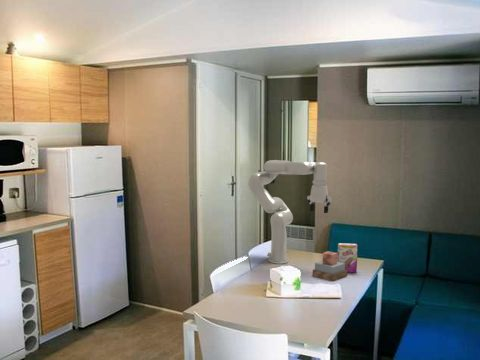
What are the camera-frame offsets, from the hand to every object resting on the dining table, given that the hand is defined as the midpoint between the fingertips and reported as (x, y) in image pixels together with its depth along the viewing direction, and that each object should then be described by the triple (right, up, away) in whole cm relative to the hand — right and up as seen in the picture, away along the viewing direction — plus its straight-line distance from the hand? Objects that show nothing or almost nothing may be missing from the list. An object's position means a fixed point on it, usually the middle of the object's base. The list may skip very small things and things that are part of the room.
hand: (319, 211), depth 280 cm
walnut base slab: (+4, -36, -12) cm, 39 cm away
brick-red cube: (+4, -28, -14) cm, 32 cm away
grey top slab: (+4, -32, -13) cm, 35 cm away
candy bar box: (+16, -35, -3) cm, 39 cm away
